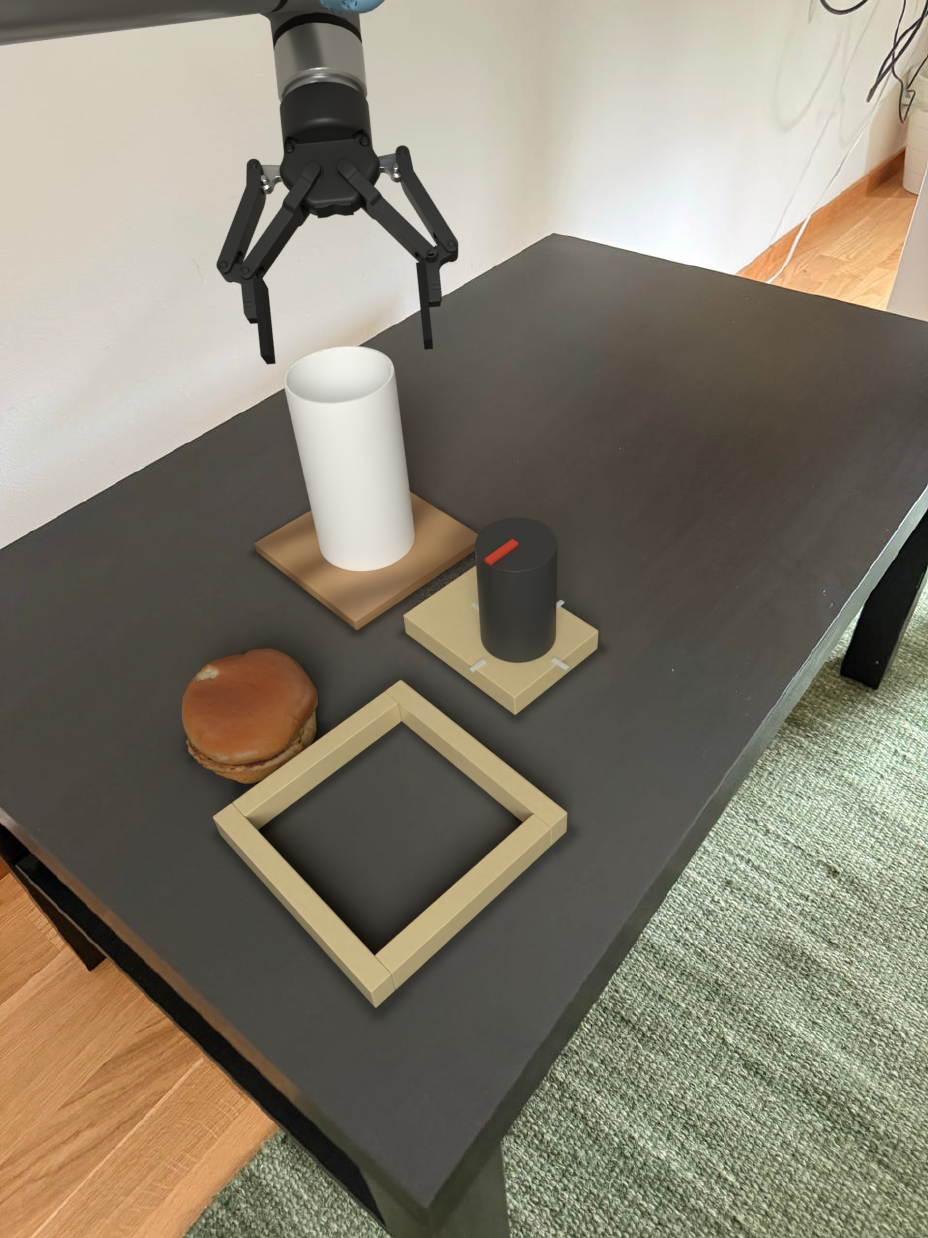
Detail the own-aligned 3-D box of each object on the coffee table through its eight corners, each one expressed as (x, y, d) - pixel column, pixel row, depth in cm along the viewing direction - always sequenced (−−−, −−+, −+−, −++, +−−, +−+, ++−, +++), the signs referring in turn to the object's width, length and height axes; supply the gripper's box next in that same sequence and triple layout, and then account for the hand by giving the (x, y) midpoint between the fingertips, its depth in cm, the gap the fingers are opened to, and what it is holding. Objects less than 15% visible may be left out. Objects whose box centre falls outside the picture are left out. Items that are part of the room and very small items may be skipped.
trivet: (256, 551, 81) (253, 543, 80) (379, 479, 87) (377, 470, 87) (356, 631, 73) (355, 622, 73) (483, 545, 80) (482, 536, 79)
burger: (295, 795, 63) (281, 753, 59) (169, 776, 64) (149, 734, 61) (339, 685, 69) (329, 643, 66) (224, 671, 71) (208, 628, 68)
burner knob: (516, 598, 72) (513, 503, 65) (571, 633, 69) (574, 537, 62) (465, 637, 69) (457, 542, 63) (520, 675, 66) (518, 579, 60)
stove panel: (401, 635, 73) (398, 616, 71) (490, 573, 77) (489, 554, 76) (520, 726, 66) (519, 706, 64) (610, 651, 70) (611, 632, 69)
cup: (299, 550, 79) (259, 384, 68) (360, 498, 84) (332, 335, 72) (374, 584, 76) (345, 415, 64) (434, 528, 80) (416, 362, 69)
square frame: (220, 835, 61) (211, 816, 59) (403, 698, 68) (400, 679, 67) (375, 1009, 52) (370, 992, 51) (567, 831, 59) (567, 812, 58)
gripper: (469, 112, 82) (493, 351, 82) (189, 138, 82) (212, 377, 82) (471, 62, 75) (497, 324, 75) (162, 90, 75) (188, 353, 75)
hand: (348, 352), depth 79 cm, fingers open, 13 cm apart
